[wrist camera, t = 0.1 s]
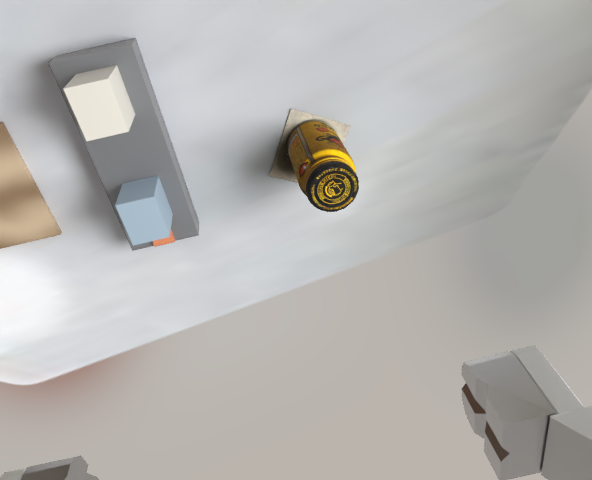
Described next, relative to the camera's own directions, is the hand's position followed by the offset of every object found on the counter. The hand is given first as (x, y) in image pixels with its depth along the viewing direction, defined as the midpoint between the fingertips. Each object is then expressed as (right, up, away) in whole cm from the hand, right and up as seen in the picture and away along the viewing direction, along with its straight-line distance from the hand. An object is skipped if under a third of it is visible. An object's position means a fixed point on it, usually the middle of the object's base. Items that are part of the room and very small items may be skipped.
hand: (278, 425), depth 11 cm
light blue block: (-16, +10, +47) cm, 51 cm away
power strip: (-17, +14, +45) cm, 51 cm away
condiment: (+2, +15, +49) cm, 51 cm away
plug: (-19, +19, +41) cm, 49 cm away
